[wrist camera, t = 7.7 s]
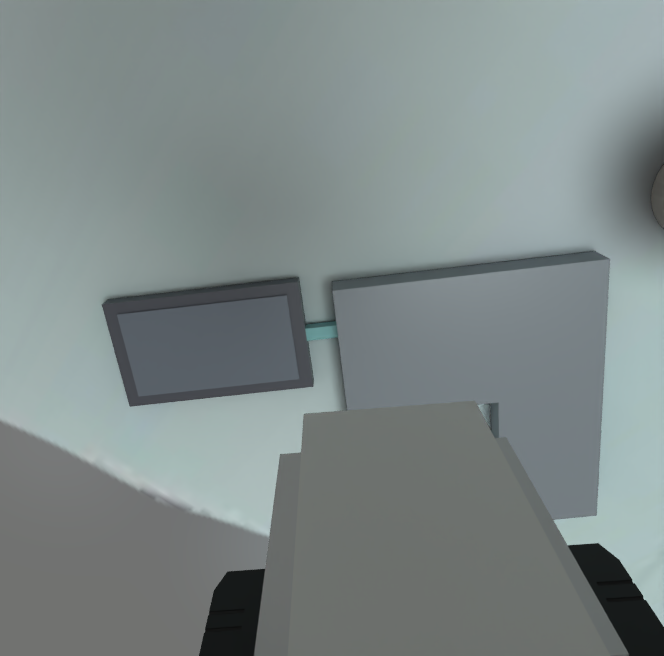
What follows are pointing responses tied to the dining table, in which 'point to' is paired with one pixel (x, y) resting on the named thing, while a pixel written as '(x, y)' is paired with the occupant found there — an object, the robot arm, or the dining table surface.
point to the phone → (213, 341)
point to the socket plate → (492, 357)
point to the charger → (423, 543)
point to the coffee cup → (658, 197)
